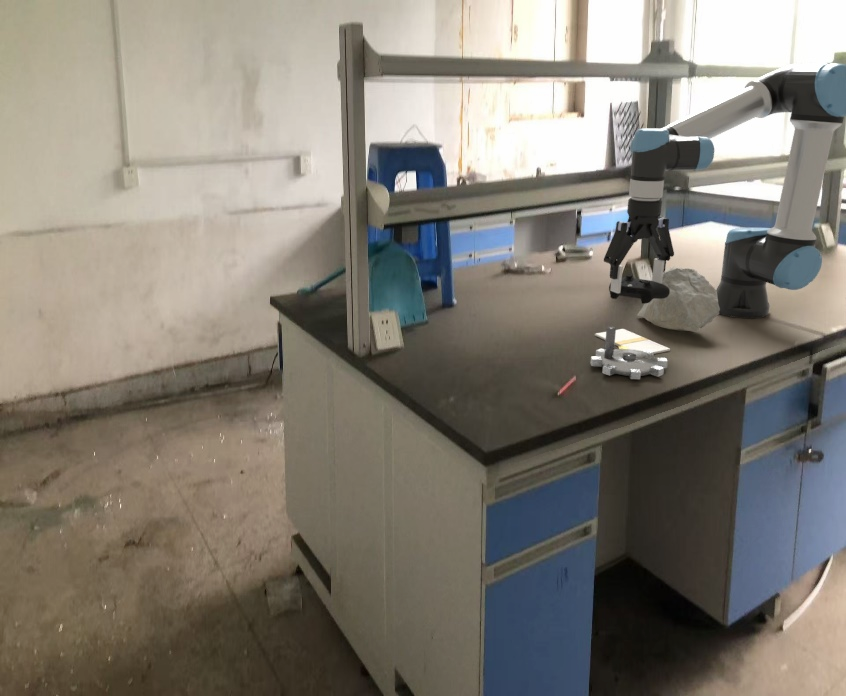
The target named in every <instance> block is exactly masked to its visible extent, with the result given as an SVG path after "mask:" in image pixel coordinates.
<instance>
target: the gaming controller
mask: <svg viewBox="0 0 846 696" xmlns="http://www.w3.org/2000/svg"><path fill="white" fill-rule="evenodd" d="M610 289H611V282H610V283H609V286H608V291H609V295H610V299H612V300H613V299H614V300H616V299H618V298H619V297H627V298H634V299H639V300H640V302H641V304H643V305H644V304H646V303H649V302H650V301H651V300H652V299H663V298H666V297H668V296H669V294H670V289H669V288H668V287H667V286H666V285H664V284H661V283H658V282H654V281H652V280H650V279H642V278H637V277H635V278H634V277H633V274H626V275H625V277H622V280H621V291H620V293H615V292H612V291H610Z"/></svg>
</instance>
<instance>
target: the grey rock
mask: <svg viewBox="0 0 846 696" xmlns="http://www.w3.org/2000/svg"><path fill="white" fill-rule="evenodd" d="M662 284H664V285H666V286H667V287H668V288H669V289H670V294H669V296H668V297H666V298H663V299H652V300H651V301H650V302H649V303H646V304H643V306H642V307H641V309H640V310H639V312H638V313H637V316H638V317H641V318H643V319H645V320H647V322H651V324H652V325H654V326H657V327H661V328H663V329H668V330H673V331H679V332H680V331H689V332H694V333H695V332H697V331H698V330H699V329H702V328H704V327H705V326H706V325H707V324H708V325H709V323H712V322H713V321H714V318H715V317H717V316H718V315H719V311H720V308H719V305H718V297H717V288H715V287H714V286H713V285H712V284H711V283H710V281H708V279H707V278H706V277H705V276H704V275H702V274H701V273H699V272H698V270H696V269H693V268H683V267H675V266H672V267H670V268H669V269H666V270H665V272H664V273H663V280H662Z"/></svg>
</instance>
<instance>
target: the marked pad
mask: <svg viewBox="0 0 846 696" xmlns="http://www.w3.org/2000/svg"><path fill="white" fill-rule="evenodd" d="M594 336H595V337H596V338H597V337H598V338H599V339H601V340H604V341H606V331H602V332H596V333H594ZM614 346H617V347H618V346H627V347H628V349H632V350H639V351H643V350H646V349H647V350H650V351H654V355H655V354H660V353H665V352H671V348H670V347H667V346H666V345H665V346H664V345H662V344H660V343H657V342H656V341H654V340H653V341H652V340H650V339H648V338H647V337H643V336H641V335H639V334H637V333H634V332H633V331H629V330H628V329H625V328H620V329H616V333H615V344H614Z"/></svg>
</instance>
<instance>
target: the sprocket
mask: <svg viewBox="0 0 846 696" xmlns="http://www.w3.org/2000/svg"><path fill="white" fill-rule="evenodd" d="M616 330H617V328H616V327H615V326H607V327H606V331H605V332H606V340H604V343H605V344H604V348H599V349H596V350H595V356H591V357H590V365H591V366H592V367H600V368H602V374H604V375H607V376H612V375H615V374H616V375H621V376H627V377H629V379H630V380H641V376H642V377H643V376H648V375H652V376H655V377H661V376H663V375H664V373H665V369H667V368H668V359H667V357H656V356H655V354H654V351H650V350H647V349H646V350H643V351H639V350H632V349H628V347H627V346H617V347H618V348H616V349H615V345H614V344H615V333H616Z"/></svg>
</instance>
